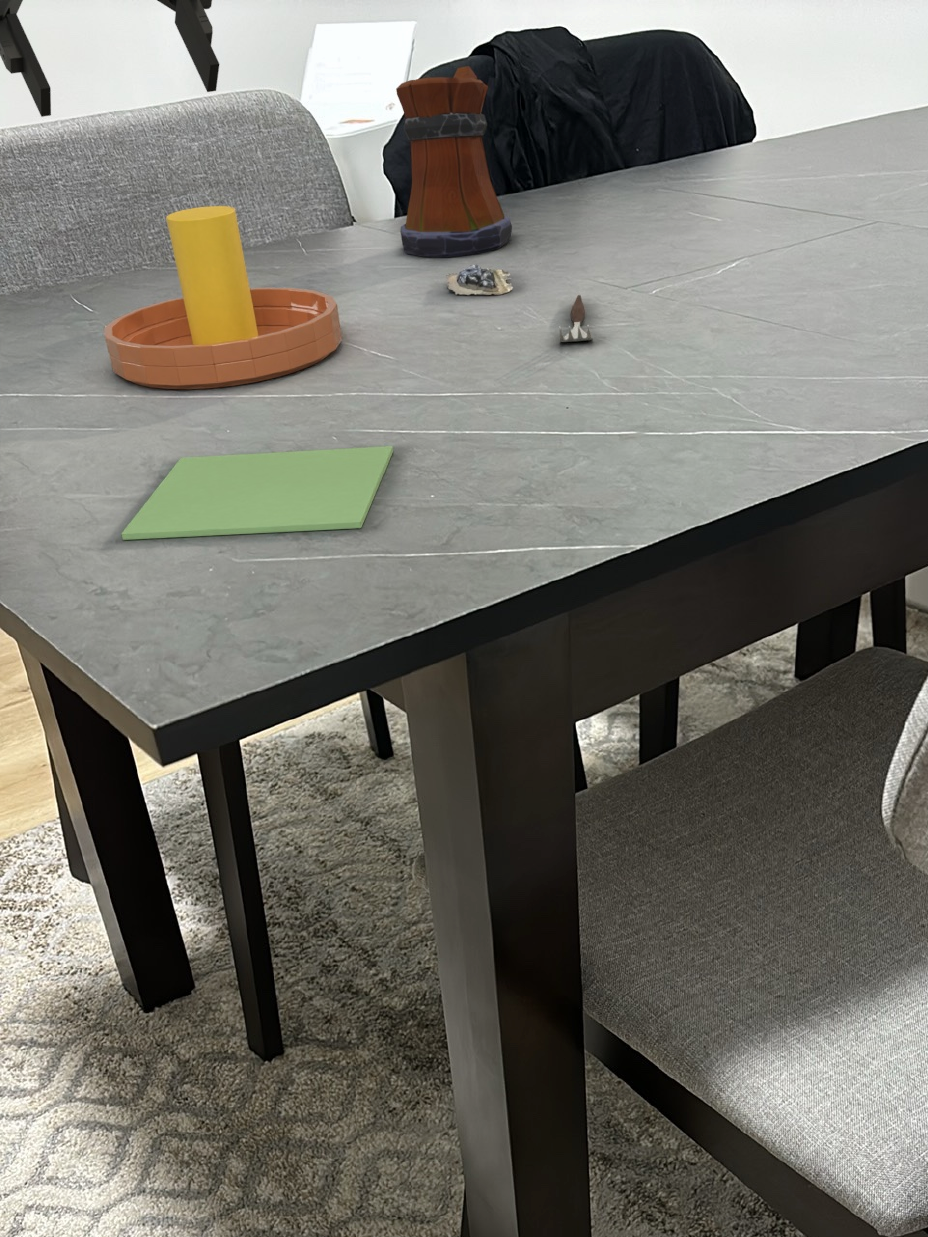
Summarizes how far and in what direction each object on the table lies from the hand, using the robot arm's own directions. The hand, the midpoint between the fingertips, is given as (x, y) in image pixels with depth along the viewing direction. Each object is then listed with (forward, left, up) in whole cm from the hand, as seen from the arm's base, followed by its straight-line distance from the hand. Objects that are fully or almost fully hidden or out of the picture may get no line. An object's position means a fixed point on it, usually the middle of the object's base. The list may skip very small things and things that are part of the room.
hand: (131, 90), depth 104 cm
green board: (+16, -41, -18) cm, 47 cm away
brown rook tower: (+21, +32, -18) cm, 43 cm away
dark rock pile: (+25, +10, -18) cm, 33 cm away
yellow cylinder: (+6, -9, -17) cm, 20 cm away
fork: (+34, -6, -18) cm, 39 cm away
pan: (+6, -9, -18) cm, 21 cm away
